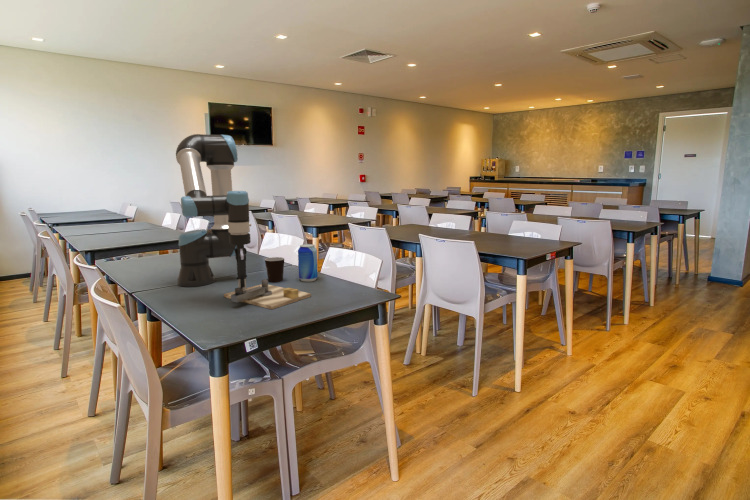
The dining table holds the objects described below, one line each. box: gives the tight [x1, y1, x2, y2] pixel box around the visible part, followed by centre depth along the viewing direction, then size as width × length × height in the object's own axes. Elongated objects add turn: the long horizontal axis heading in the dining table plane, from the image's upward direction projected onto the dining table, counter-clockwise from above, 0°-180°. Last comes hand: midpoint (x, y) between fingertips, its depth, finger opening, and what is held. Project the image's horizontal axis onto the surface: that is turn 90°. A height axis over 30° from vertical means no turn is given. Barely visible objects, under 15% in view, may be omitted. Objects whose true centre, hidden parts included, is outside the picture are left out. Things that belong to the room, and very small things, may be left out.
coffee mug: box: [264, 256, 285, 283], centre depth 197 cm, size 12×9×10 cm
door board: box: [223, 278, 312, 310], centre depth 170 cm, size 28×20×7 cm
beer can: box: [297, 243, 319, 283], centre depth 196 cm, size 8×8×16 cm
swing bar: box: [230, 286, 265, 303], centre depth 162 cm, size 14×3×4 cm, turn 149°
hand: (242, 294), depth 164 cm, fingers closed
